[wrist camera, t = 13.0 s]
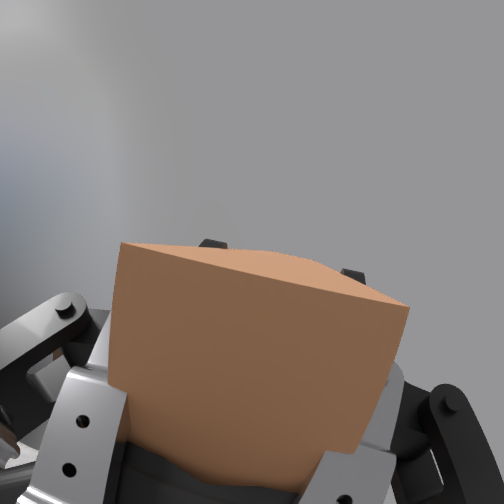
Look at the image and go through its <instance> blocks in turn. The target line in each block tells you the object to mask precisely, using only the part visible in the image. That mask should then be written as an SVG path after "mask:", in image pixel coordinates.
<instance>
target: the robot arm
mask: <svg viewBox="0 0 504 504" xmlns="http://www.w3.org/2000/svg"><path fill="white" fill-rule="evenodd" d="M199 247H208V248H220V249H227V243H224V242H219V241H214V240H210V239H205V240H204V241H203V242H202V243H201V244H200V245H199ZM340 274H342V275H344V276H347V277H350V278H352V279H354V280H356V281H358V282H360V283H362V284H364V285H366V283H365V276H364V273H362V272H357V271H352V270H347V269H342V270H341V273H340ZM111 312H112V310H109V311H108V310H98V309H97V310H96V309H88V307H87V304H86V301H85V299H84V297H83V296H81V295H80V294H78V293H74V292H66V293H62V294H59V295H57V296H55V297H53V298H51V299H50V300H48V301H46V302H44V303H43V304H41V305H39V306H38V307H36V308H34V309H33V310H31V311H30V312H28V313H26V314H25V315H23V316H21V317H20V318H18V319H16V320H15V321H13V322H12V323H10V324H8V325H7V326H5V327H4V328H2V329H1V330H0V504H383V502H384V500H385V497H386V494H387V491H388V488H389V485H390V482H391V485H392V489H393V492H394V496H395V499H396V503H397V504H504V483H503V480H502V477H501V474H500V472H499V469H498V466H497V464H496V461H495V458H494V456H493V454H492V451H491V449H490V446H489V444H488V442H487V439H486V437H485V435H484V433H483V430H482V428H481V426H480V424H479V422H478V420H477V418H476V416H475V414H474V411H473V410H472V408H471V406H470V403H469V402H468V400H467V398H466V396H465V394H464V393H463V392H462V391H461V390H460V389H459V388H456V387H455V386H453V385H450V384H441V385H438V386H437V387H435V388H434V389H433V390H432V391H431V392H428V391H425V390H422V389H420V388H418V387H415V386H413V385H411V384H409V383H407V382H406V381H404V376H403V373H402V371H401V369H400V368H399V366H398V365H397V364H396V363H395V362H393V365H392V367H391V370H390V373H389V376H388V378H387V381H386V384H385V386H384V389H383V391H382V394H381V396H380V399H379V401H378V404H377V406H376V408H375V411H374V413H373V415H372V417H371V420H370V422H369V424H368V426H367V428H366V430H365V433H364V435H363V437H362V439H361V441H360V443H359V445H358V447H357V449H356V451H355V453H354V454H351V453H342V452H332V451H325V452H324V454H323V455H322V457H321V458H320V460H319V461H318V462H317V464H316V465H315V467H314V468H313V469H312V471H311V472H310V474H309V475H308V476H307V478H306V479H305V480H304V483H303V485H302V488H301V490H300V492H299V493H294V492H287V491H281V490H275V489H270V488H265V487H260V486H225V485H210V484H206V483H203V482H201V481H199V480H197V479H196V478H194V477H193V476H191V475H189V474H188V473H186V472H185V471H183V470H182V469H180V468H178V467H177V466H175V465H174V464H172V463H171V462H170V461H168V460H167V459H165V458H164V457H162V456H159V455H157V454H155V453H152V452H150V451H148V450H146V449H143V448H141V447H139V446H137V445H135V444H133V443H131V442H128V441H126V440H127V437H128V434H129V432H130V430H131V421H130V414H129V405H128V396H127V393H125V392H123V391H121V390H119V389H117V388H114V387H112V386H110V385H108V352H109V336H110V323H111ZM58 348H60V350H61V352H62V354H63V355H62V356H61V357H59V358H58V359H56V360H55V361H53V362H52V363H50V364H49V365H47V366H46V367H45V368H43V369H42V370H40V371H39V372H37V373H35V374H28V373H27V371H28V369H29V368H31V367H32V366H33V365H35V364H36V363H38V362H39V361H41V360H42V359H44V358H45V357H46V356H48V355H50V354H51V353H53V352H54V351H55V350H57V349H58ZM49 418H50V419H49ZM47 419H49V423H48V425H47V428H46V431H45V434H44V437H43V440H42V443H41V446H40V449H39V452H38V456H37V459H36V461H34V462H30V463H27V464H23V465H19V466H15V467H11V468H7V469H5V465H6V463H7V461H8V460H9V459H10V458H12V459H16V458H18V457H19V455H20V448H19V446H18V445H17V442H18V441H19V440H20V439H22V438H23V437H24V436H26V435H27V434H28V433H30V432H31V431H32V430H34V429H35V428H37V427H38V426H39V425H41V424H42V423H43V422H45V421H46V420H47ZM431 449H432V452H433V454H434V457H435V460H436V462H437V465H438V468H439V470H440V474H441V476H442V479H443V483H444V485H443V484H442V483H441V479H440V476H439V474H438V471H437V468H436V465H435V463H434V460H433V457H432V454H431V452H430V450H431Z"/></svg>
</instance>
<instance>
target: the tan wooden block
mask: <svg viewBox="0 0 504 504" xmlns="http://www.w3.org/2000/svg"><path fill="white" fill-rule="evenodd" d="M409 309H410V307H408V306H406V305H404V304H402V303H400V302H398V301H396V300H394V299H392V298H390V297H388V296H386V295H384V294H382V293H380V292H378V291H376V290H374V289H372V288H370V287H368V286H366V285H364V284H362V283H360V282H358V281H356V280H354V279H352V278H350V277H347V276H344V275H342V274H340V273H339V272H337V271H335V270H333V269H331V268H329V267H327V266H325V265H323V264H320V263H318V262H316V261H314V260H310V259H305V258H301V257H295V256H291V255H287V254H282V253H277V252H273V251H257V250H241V249H220V248H208V247H190V246H175V245H174V246H173V245H157V244H141V243H125V242H121V246H120V252H119V258H118V264H117V272H116V278H115V285H114V293H113V302H112V312H111V323H110V336H109V352H108V385H110V386H112V387H114V388H117V389H119V390H121V391H123V392H125V393H127V396H128V405H129V414H130V421H131V430H130V432H129V434H128V437H127V440H126V441H128V442H131V443H133V444H135V445H137V446H139V447H141V448H143V449H146V450H148V451H150V452H152V453H155V454H157V455H159V456H162V457H164V458H165V459H167V460H168V461H170V462H171V463H172V464H174V465H175V466H177V467H178V468H180V469H182V470H183V471H185V472H186V473H188V474H189V475H191V476H193V477H194V478H196V479H197V480H199V481H201V482H203V483H206V484H210V485H225V486H260V487H265V488H270V489H275V490H281V491H287V492H294V493H299V492H300V490H301V488H302V485H303V483H304V480H305V479H306V478H307V476H308V475H309V474H310V472H311V471H312V469H313V468H314V467H315V465H316V464H317V462H318V461H319V460H320V458H321V457H322V455H323V454H324V452H325V451H332V452H342V453H351V454H354V453H355V451H356V449H357V447H358V445H359V443H360V441H361V439H362V437H363V435H364V433H365V430H366V428H367V426H368V424H369V422H370V420H371V417H372V415H373V413H374V411H375V408H376V406H377V404H378V401H379V399H380V396H381V394H382V391H383V389H384V386H385V384H386V381H387V378H388V376H389V373H390V370H391V367H392V365H393V362H394V359H395V356H396V353H397V350H398V347H399V344H400V340H401V337H402V334H403V330H404V327H405V324H406V320H407V316H408V313H409Z"/></svg>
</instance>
